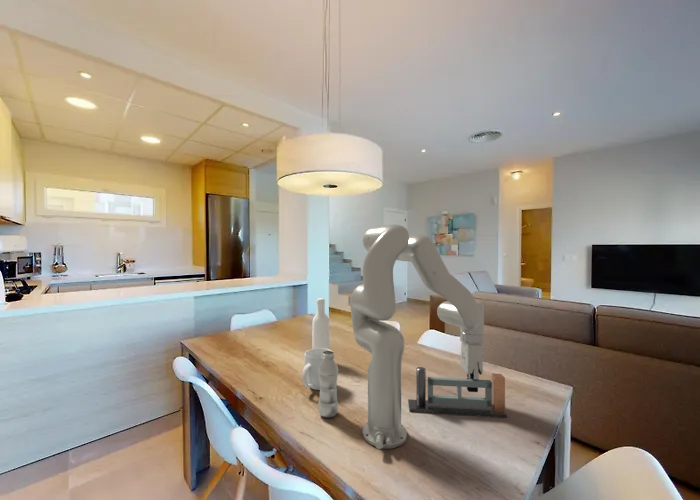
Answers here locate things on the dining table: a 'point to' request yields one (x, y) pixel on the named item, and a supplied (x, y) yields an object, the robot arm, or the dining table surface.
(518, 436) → the dining table surface
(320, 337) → the bottle
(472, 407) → the gate frame
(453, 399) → the gate
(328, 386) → the plastic bottle
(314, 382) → the mug
